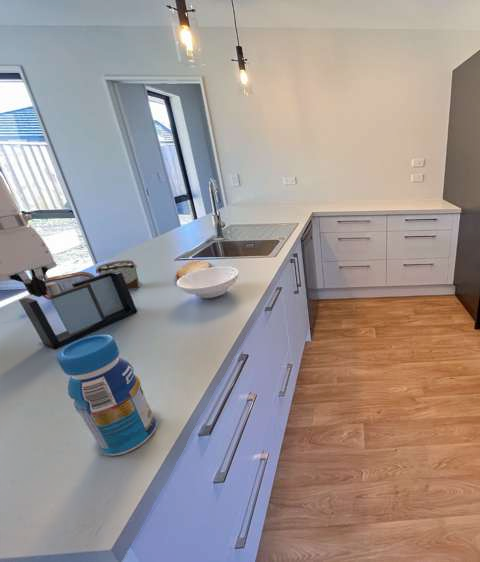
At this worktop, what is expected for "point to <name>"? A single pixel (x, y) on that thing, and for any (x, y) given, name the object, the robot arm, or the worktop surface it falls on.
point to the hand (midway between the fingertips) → (40, 294)
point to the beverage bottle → (107, 394)
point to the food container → (122, 266)
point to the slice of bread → (191, 268)
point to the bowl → (208, 281)
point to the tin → (66, 281)
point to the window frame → (109, 297)
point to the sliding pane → (76, 306)
